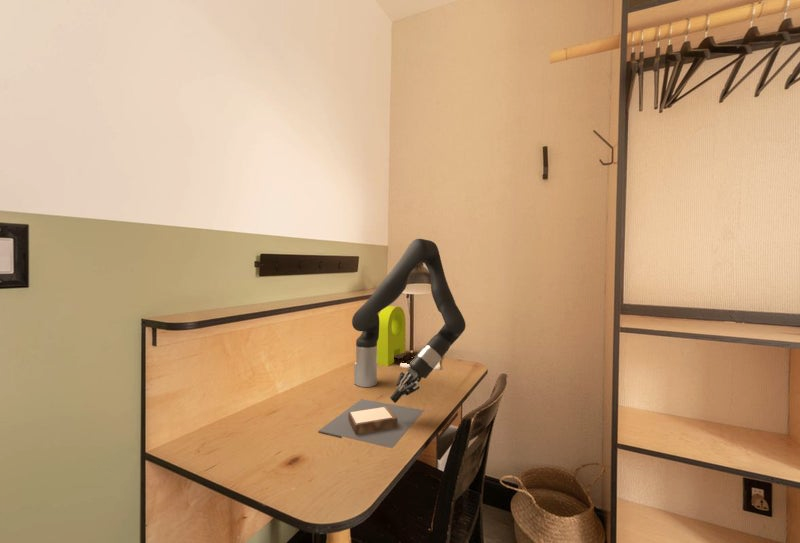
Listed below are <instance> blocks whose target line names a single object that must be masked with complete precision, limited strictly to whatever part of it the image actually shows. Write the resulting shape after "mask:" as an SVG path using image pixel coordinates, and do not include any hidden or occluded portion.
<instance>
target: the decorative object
mask: <svg viewBox="0 0 800 543" xmlns="http://www.w3.org/2000/svg"><path fill="white" fill-rule="evenodd" d="M378 315H379V338H378V341H377V366H378V365H380V366H386V367H389V366H391V365H392V364H394V363H395V359H394V356H395V355H397V354H401V353H404V352H405V353H406V332H407V331H406V324H407V323H406V322H407V321H406V314H405V311H404V309H403V308H402V307H401V306H395V305H389V306H387V307H386V308H384V309H383V310H381V311H380V312H379V313H378Z"/></svg>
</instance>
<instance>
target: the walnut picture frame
mask: <svg viewBox="0 0 800 543" xmlns="http://www.w3.org/2000/svg"><path fill="white" fill-rule="evenodd" d="M348 421H349V423H350V425H351V427H352V429H353V431H354V433H355V435H356V434H362V433H367V432H373V431H379V430H384V429H390V428H395V427H397V417H396V416H395V415H394V413H393V412H392V411H391V410H390V409H389V407H388V406H385V407H379V408H372V409H366V410H359V411H353V412H348Z"/></svg>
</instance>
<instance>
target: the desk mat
mask: <svg viewBox="0 0 800 543" xmlns="http://www.w3.org/2000/svg"><path fill="white" fill-rule="evenodd" d="M385 406H388V407H389V409H390V410H391V411H392V412H393V413H394V415H395V416H396V417H397V427H395V428H390V429H384V430H379V431H373V432H367V433H362V434H356V435H355V433H354V431H353V429H352V427H351V425H350V423H349V421H348V412H353V411H359V410H366V409H372V408H379V407H385ZM424 411H425V410H424V409H419V408H413V407H408V406H404V405H397V404H391V403H385V402H381V401H375V400H369V399H364V398H360V399H359V400H358V401H357V402H355V403H354V404H352V405H351V406H349V408H347V409H345V411H343V412H341V413H340V414H339V415H338V416H336V417H335V418H333V419H332V420H331V421H329V422H328V423H327V424H325V425H324V426H322V428H320V429H318V430H317V431H318V432H317V433H320V434H323V435H330V436H333V437H336V438H337V437H338V438H341V439H342V438H348V439H351V440H352V439H353V440H356V441H360V442H365V443H369V444H374V445H376V446H381V447H385V448H390V449H393V448H394V447H395V446H396V445H397V443H398V442H399V441H400V440H401V438H402V437H403V436H404V435H405V434H406V432H407V431H408V430H409V429H410V428H411V427H412V425H413V424H414V423H415V422H416V421H417V420H418V418H419V417H420V416H421V415H422V413H423V412H424Z"/></svg>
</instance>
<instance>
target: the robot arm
mask: <svg viewBox="0 0 800 543" xmlns="http://www.w3.org/2000/svg"><path fill="white" fill-rule="evenodd" d="M419 264H424V265H425V266H426V268H427V271H428V273H429V276H430V277H429V278H430V291H431V295H432V296H431V297H432V299H433V301H434V304H435V306H436V308H437V311H438V312H439V313H440V314H441V316H442V319H443V321H444V325H443V326H442V327H441V328H440V329H439V331H438V332H437V333H436V334H435V335H433V336H432V338H430V340H429V341H428V343H426V345H425V346H424V347H422V349H421V348H420V351H418V353H417V354H416V355H415V356H414V357H415V358H414V359H413V360H412V361H411V362H410V364H409V365H410V366H411V367H410V368H408V370H406V372H403V371H402V372H400V373H399V376H398V379H397V381H396V384H395V386H396V390H395V391H394V392H393V394H392V395H391V396H390V400H391V401H392V402H393V403H394V404H396V403H398V401H399V400H400V399H401V398H402V396H409V395H410V394H412V393H414V392H416V391H418V390H419V389H420V385H419V383H420V382H421V381H422V378H423V379H427V377H428V376H429V375H430V374H431V373H432V372H433V371H434V370H433V369H434V368H435V367H436V365H437V364H438V363H439V361H440V362H441V360H442V359H443V357H444V356H445V355H446V354H447V352H448V351H449V349H450V348H451V346H452V345H453V344H454V343H455V342H456V341H457V340H458V338H459V337H460V336H462V334H463V333H464V331H465V330H466V321H465V318H464V316H463V314H462V312H461V310H460V309H459V307H458V306H457V304H456V300H455V298H454V295H453V293H452V291H451V289H450V286H449V284H448V282H447V277H446V275H445V272H444V267H443V264H442V260H441V255H440V251H439V248H438V246H437V244H436V243H435V242H434V241H432V240H428V239H424V238H416V239H414V240H412V241H411V242H410V244H409V245H408V246H407V248H406V250H405V252H404V253H402V256H401V257H400V259H399V261H397V263H396V264H395V266H394V267H393V268H392V269H391V271H390V272H389V273H388V275H387V276H386V277H385V278H384V279H383V280H382V281H381V283H380V284H379V285H378V287H376V290H375V291H373V293H372V294H371V296H369V298H368V299H367V301H366V302H365V303H364V304H363V305H361V307H359V308H358V310H356V311H355V313H354V314H353V316H352V319H351V325H352V327H353V329H354V330H355V331H357V332H361V334H360V336H359V337H357V338H356V341H355V347H356V348H355V349H356V350H355V353H356V354H355V358H356V359H355V362H354V364H353V366H354V368H353V370H354V371H353V372H354V375H353V376H354V377H353V378H354V380H353V383H354V385H357V386H358V387H361V388H371V387H374V386H377V383H378V364H377V341H378V338H379V314H380V312H381V310H383V309H384V308H386V307H387V306H391V305H392V304H393V303H394V302H395V301H396V300H397V299H398V298H399V297H400V296H401V295H402V294H403V292H404V291H405V290H406V288H407V285H408V281H409V276H410V275H411V273H412V272H413V270H414V269H415V268H416V267H417V266H418V265H419ZM441 358H442V359H441ZM440 359H441V360H440Z"/></svg>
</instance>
